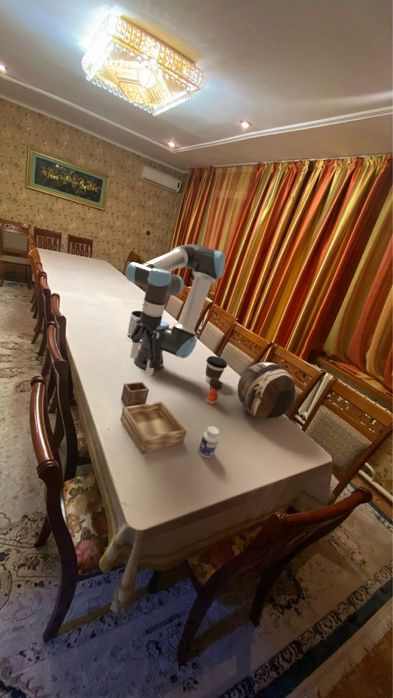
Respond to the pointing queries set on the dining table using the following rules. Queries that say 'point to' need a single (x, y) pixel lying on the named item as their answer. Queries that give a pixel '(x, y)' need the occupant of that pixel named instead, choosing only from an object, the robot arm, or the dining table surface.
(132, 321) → the planter
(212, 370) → the coffee cup
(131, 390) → the walnut crate
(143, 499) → the dining table surface
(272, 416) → the sphere
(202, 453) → the pill bottle
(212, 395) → the figurine
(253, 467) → the dining table surface
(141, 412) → the oak crate
